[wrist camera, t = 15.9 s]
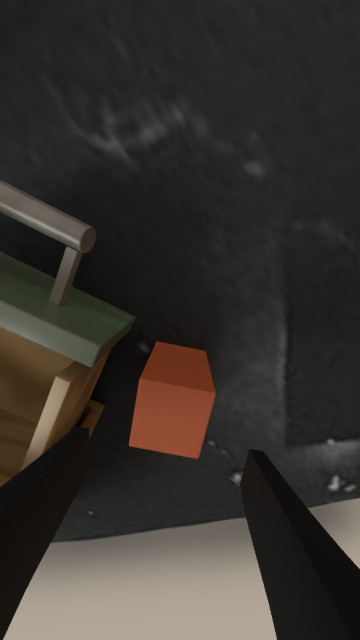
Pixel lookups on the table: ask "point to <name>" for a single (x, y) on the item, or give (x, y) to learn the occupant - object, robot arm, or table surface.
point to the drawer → (48, 337)
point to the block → (173, 401)
